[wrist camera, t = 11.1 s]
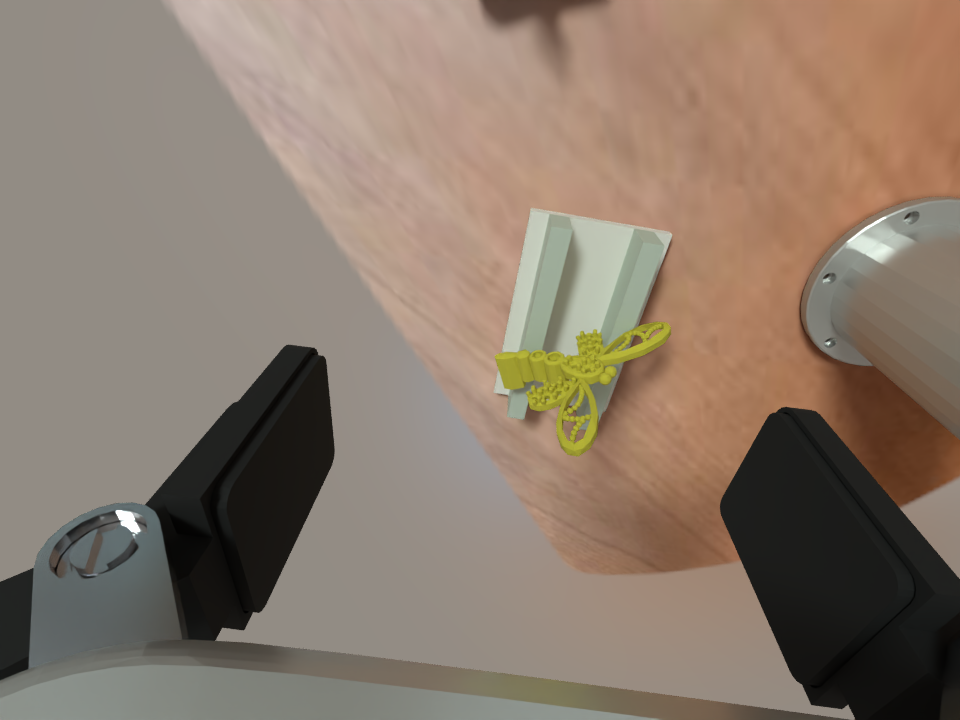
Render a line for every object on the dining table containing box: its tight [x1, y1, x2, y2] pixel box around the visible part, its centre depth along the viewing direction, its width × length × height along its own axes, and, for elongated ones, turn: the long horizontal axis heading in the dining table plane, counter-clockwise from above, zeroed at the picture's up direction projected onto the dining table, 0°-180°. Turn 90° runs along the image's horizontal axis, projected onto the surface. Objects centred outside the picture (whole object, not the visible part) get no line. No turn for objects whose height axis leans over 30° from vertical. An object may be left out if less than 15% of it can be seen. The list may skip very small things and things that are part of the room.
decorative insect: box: [495, 322, 671, 456], centre depth 33 cm, size 13×3×10 cm
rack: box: [494, 208, 672, 430], centre depth 36 cm, size 10×16×4 cm, turn 171°
